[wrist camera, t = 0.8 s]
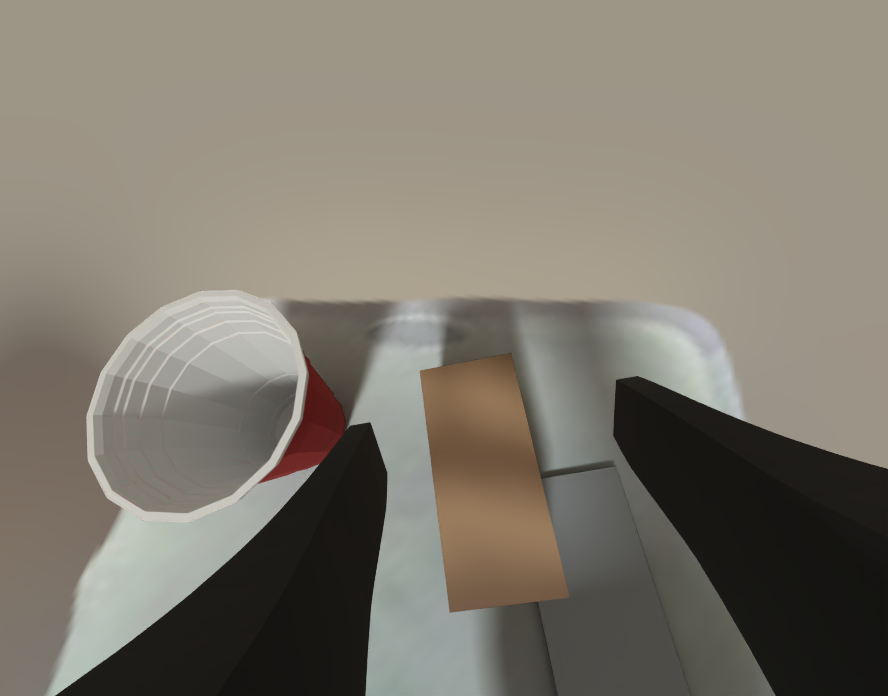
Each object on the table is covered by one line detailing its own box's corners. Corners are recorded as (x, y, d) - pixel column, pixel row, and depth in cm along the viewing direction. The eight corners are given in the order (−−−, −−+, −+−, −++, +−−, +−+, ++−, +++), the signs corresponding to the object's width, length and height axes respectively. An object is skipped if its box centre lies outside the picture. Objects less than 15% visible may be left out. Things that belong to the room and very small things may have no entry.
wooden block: (552, 566, 21) (569, 597, 16) (465, 578, 22) (449, 612, 16) (509, 383, 26) (511, 352, 20) (439, 396, 27) (419, 370, 21)
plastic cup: (216, 488, 26) (18, 489, 15) (274, 354, 29) (149, 275, 18) (351, 526, 24) (240, 560, 13) (394, 378, 28) (337, 306, 17)
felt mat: (695, 717, 19) (699, 722, 18) (566, 735, 19) (567, 740, 19) (613, 466, 24) (615, 466, 23) (512, 483, 24) (513, 483, 24)
